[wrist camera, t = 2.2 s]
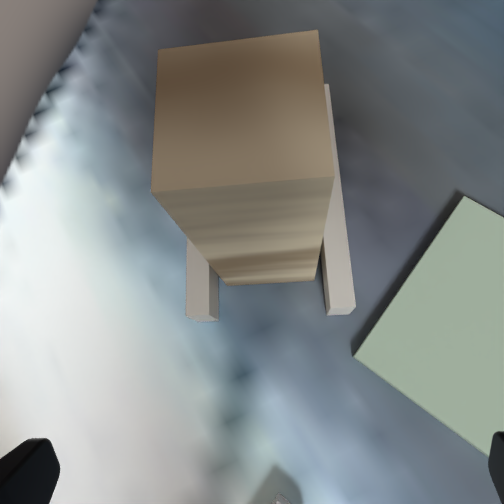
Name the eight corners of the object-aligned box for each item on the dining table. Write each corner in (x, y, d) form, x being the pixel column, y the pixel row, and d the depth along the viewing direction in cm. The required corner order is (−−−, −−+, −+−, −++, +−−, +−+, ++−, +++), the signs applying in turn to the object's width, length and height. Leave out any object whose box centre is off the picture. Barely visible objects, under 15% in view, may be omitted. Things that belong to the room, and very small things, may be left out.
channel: (349, 314, 20) (355, 306, 18) (197, 321, 21) (185, 316, 19) (325, 111, 24) (328, 83, 22) (199, 124, 25) (189, 99, 23)
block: (314, 280, 21) (335, 176, 10) (227, 285, 22) (150, 192, 10) (306, 200, 23) (317, 29, 11) (225, 206, 23) (158, 49, 12)
